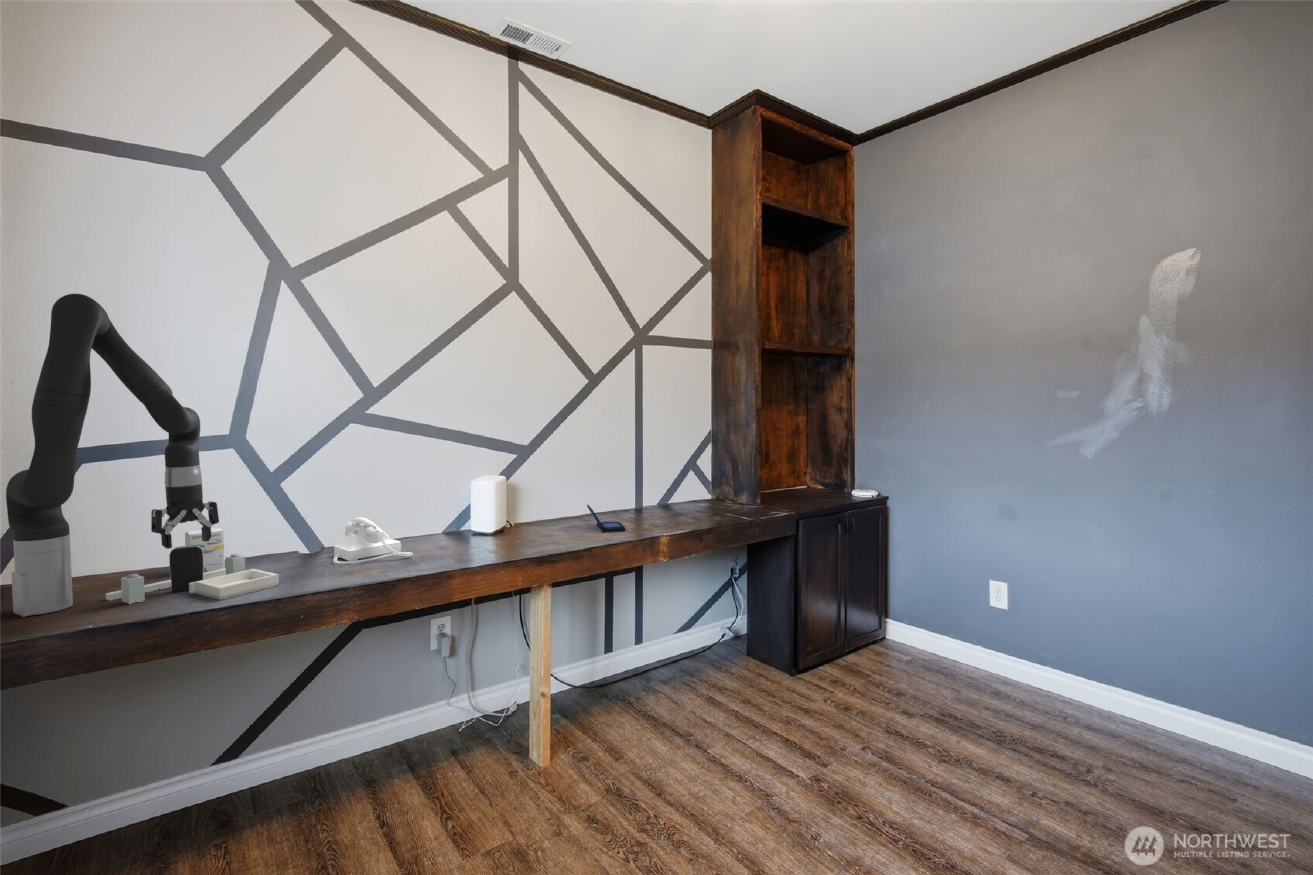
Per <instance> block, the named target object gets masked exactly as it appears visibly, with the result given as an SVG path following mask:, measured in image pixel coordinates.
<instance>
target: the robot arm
mask: <svg viewBox="0 0 1313 875" xmlns="http://www.w3.org/2000/svg"><path fill="white" fill-rule="evenodd" d="M50 314H51V315H50V326H49V327H50V329H49V340H48V347H47V351H46V355H45V357H44V360H43V363H42V366H41V370H40V374H39V378H38V381H37V383H36V388H35V391H34V396H33V401H32V405H31V424H32V425H31V426H32V429H33V437H34V450H33V455H32V458H31V461H30V465H29V467H28V468H27V469H24V470H21V471H19V472H17V473H16V474H14V475H13V476H12V477H11V478H10V479H9V480H8V483H7V485H6V490H5V500H6V501H5V502H6V513H7V520H8V526H9V528H10V530H11V533H12V541H13V542H12V543H13V560H14V571H12V572H11V576H10V577H11V589H12V591H11V593H12V596H11V597H12V611H13V612H12V613H14V614H15V615H18V616H20V617H23V618H24V617H27V616H28V617H29V616H35V615H45V614H48V613H49V614H50V613H54V612H58V611H63V610H66V609H68V608H70V607H72V606H74V603H73V599H74V595H73V581H72V580H73V578H72V558H71V557H72V555H71V533H70V524H69V522H68V521H67V520H66V518H65V516H64V514H63V509H62V506H63V505H64V504H65V503H67V501H68V500H69V499H70V498H71V496H72V494H73V491H74V486H75V474H76V473H75V470H76V462H77V461H76V460H77V450H78V448H79V444H80V443H79V442H80V439H81V435H82V431H83V427H84V422H85V418H86V415H87V412H88V408H89V407H88V406H89V403H90V398H91V391H92V374H91V372H92V371H91V353H92V350H93V351H94V352H95V353H96V354H97V355H98V356H100V358H101V359H102V360H103V361H104V362H105V363H106V364H107V365H108V367H109V368H110V369H111V370H112V372H113V373H114V375H115V376H116V377H117V378H118V379H119V380H120V382H121V383H122V384H123V385H124V386H125V387H126V389H127V390H128V391H129V392H130V393H131V394H132V395H133V396H134V397H135V398H136V399H137V400H138V402H140V403H142V405H143V406H144V407H145V409H146V410H147V412H148V413H149V415H150V416H151V418H152V419H153V421H154V422H155V423H156V425H157V426H159V427H160V429H161V430H163V431H165V432H166V433H168V444H167V445H166V446H165V449H164V463H165V464H164V465H165V467H164V469H165V472H164V485H165V486H164V487H165V501H166V507H165V508H163V509H158V508H154V509H151V511H150V512H151V522H150V524H151V525H150V526H151V527H150V529H151V530H150V531H151V532H152V533H155V534H160V536H161V538H160V539H161V540H160V541H161V546H162V547H164V548H165V549H166V550H167V549H168V550H169V549H173V542H172V540H173V539H172V533H171V532H172V531H174V530H173V529H174V528H176V527H177V525H179V523H180V524H184V523H187V522H194V521H195V522H198V523H199V525H201V526H202V527H201V529H200V530H202V541H205V542H206V541H209V539H211V529H212V526H214V525H216V524H219V523H220V518H219V509H218V503H217V502H216V501H211V500H210V501H207V502H205V503H204V501H203V499H204V498H203V497H204V495H203V479H202V478H203V476H202V469H201V466H200V452H199V444H200V436H201V419H200V416H199V414H198V412H197V411H196V410H194V409H193V408H190V407H186V406H183V405H182V404H181V403H180V402H179V400H178V399H177V398H176V397H175V396H174V395H173V390H172V388H171V387H170V386H169V384H168V383H167V382H166V381H164V379H163V378H162V377H161V376H160V375H159V374H158V372H156V371H155V369H153V368H152V367H151V365H149V364H148V363H147V362H146V361H145V360H144V359H143V358H142V357H141V356H140V355H138V354H137V352H135V350H134V349H132V347H131V346H130V345H129V344H128V343H127V342H126V341H125V340H124V338H123V337H122V335H121V334H120V333H119V332H118V330H117V328H116V327H115V326H114V324H113V322H112V321H111V319H110V317H109V315H108V313H107V311H106V310H105V309H104V308H103V306H102V305H101V304H100V303H99V302H97V301H96V299H93V298H92V297H90V296H88V295H86V294H82V293H69V294H65V295H63V296H61V297H59V298H58V299H57V300H56V301H55V302H54V304H53V305H52V308H51V313H50ZM204 510H206V511H207V512H208V514H207V515H208V518H207V517H206V516H205V515H204V514H203V511H204ZM165 514H166V515H167V516H168V518H167V519H166V521H165V522H164V524H163V518H164V517H165Z"/></svg>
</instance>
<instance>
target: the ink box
mask: <svg viewBox="0 0 1313 875" xmlns="http://www.w3.org/2000/svg"><path fill="white" fill-rule="evenodd" d="M224 532H225V531H224V530H223V529H221V528H220V527H215V528H212V527H211V539H209V541H206V542H205V541H202V530H201V529H195V530H188V531H185V532H184V543H185V544H184V546H191V545H198V546H200V547H201V548H202V550H203V558H204V571H203V573H205V572H210V571H214V570H219V569H224V568H226V563H225V557H226V556H225V537H224V536H225V533H224Z"/></svg>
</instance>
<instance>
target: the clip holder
mask: <svg viewBox="0 0 1313 875" xmlns="http://www.w3.org/2000/svg"><path fill="white" fill-rule="evenodd" d="M241 571H246V556H244V555H240V553H234V554H233V553H232V554H230V556H225V568H224V569H219V570H214V571H207V572H203V580H205V579H210V578H214V577H219V576H223V575H228V574H232V573H237V572H241ZM120 587H121V588H120V589H121V590H116V591H111V592H107V593H105V600H106V601H114V599H115V600H118V599H121V603H124V602H125V604H127V603H128V604H127V605H133V604H132V603H134V604H136V603H135V602H138V603H141V602H142V603H143V602H145V601H146V598H145V596H146V593H150V592H154V590H155V591H159V590H158V589H160V590H163V589H168V588H171V579H167V580H164V581H163V580H162V581H157V582H154V583H148V584H145V577H144V576H142V575H139V574H138V573H131V574H127V575H126V576H123V577H120ZM145 592H146V593H145ZM188 593H189V594H194V593H195V582H192V583H189V590H188Z"/></svg>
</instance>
